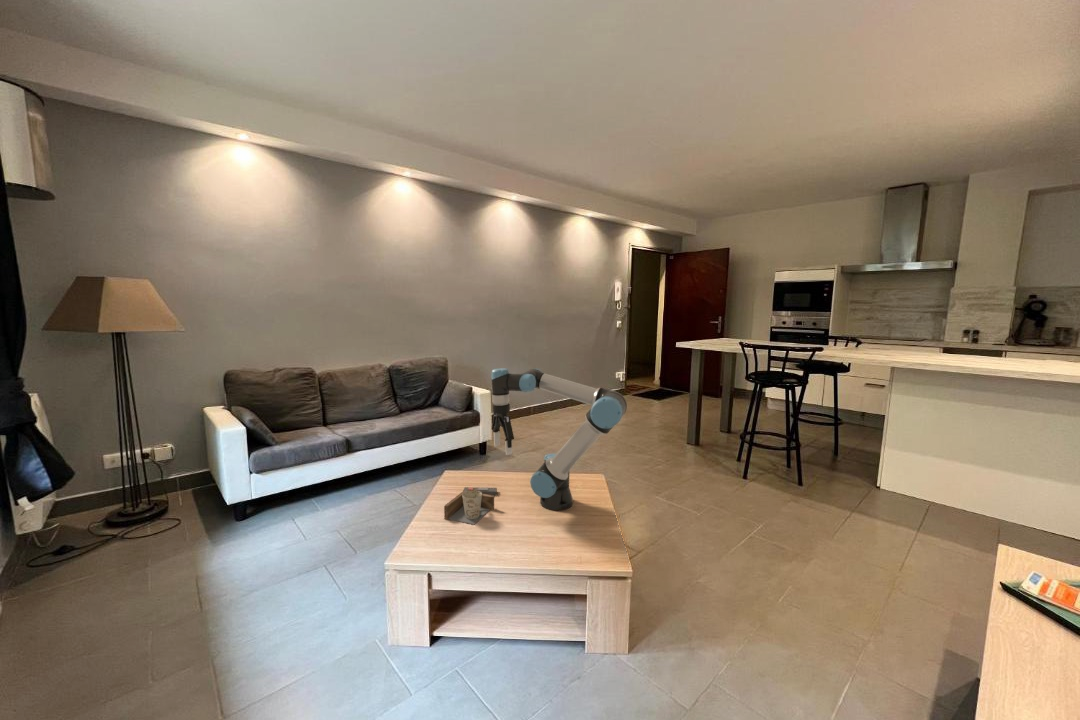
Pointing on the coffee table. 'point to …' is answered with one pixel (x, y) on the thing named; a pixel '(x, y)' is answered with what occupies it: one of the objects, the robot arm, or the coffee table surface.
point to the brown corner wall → (457, 503)
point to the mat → (461, 516)
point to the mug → (472, 503)
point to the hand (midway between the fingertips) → (502, 450)
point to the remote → (483, 490)
